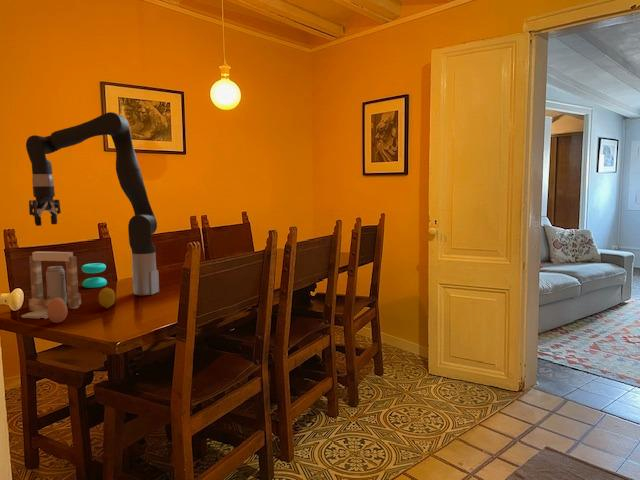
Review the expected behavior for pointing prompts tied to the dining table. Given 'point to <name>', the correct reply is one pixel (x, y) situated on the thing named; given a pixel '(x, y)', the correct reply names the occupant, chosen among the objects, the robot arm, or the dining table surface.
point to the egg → (57, 310)
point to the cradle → (37, 287)
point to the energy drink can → (56, 283)
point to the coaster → (36, 314)
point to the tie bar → (51, 256)
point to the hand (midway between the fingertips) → (46, 225)
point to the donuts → (95, 281)
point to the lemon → (106, 297)
